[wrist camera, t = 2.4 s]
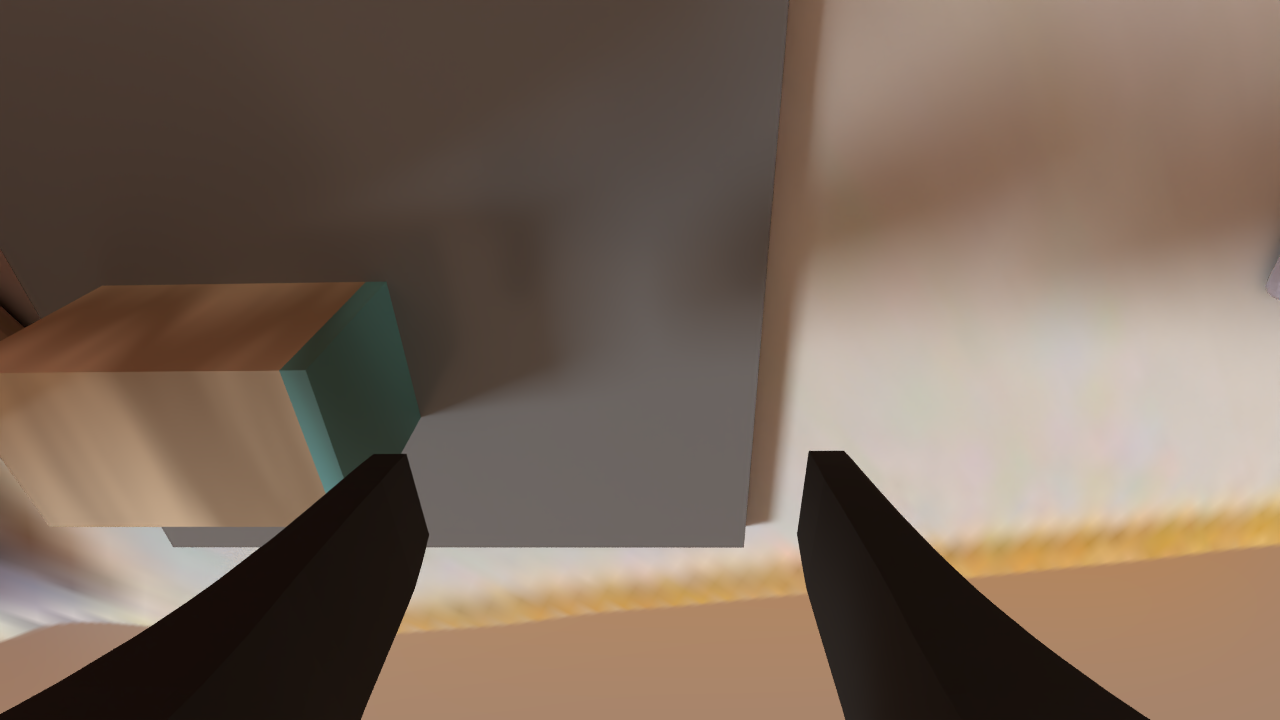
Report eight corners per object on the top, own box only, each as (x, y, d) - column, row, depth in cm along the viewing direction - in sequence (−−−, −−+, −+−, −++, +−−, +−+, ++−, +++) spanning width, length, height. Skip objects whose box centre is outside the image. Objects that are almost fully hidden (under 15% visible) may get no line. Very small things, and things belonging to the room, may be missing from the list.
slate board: (788, -88, 12) (796, -92, 11) (741, 528, 20) (743, 547, 19) (-131, -56, 12) (-178, -58, 12) (189, 528, 21) (173, 547, 20)
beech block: (306, 370, 12) (-60, 373, 12) (360, 527, 14) (49, 526, 14) (386, 281, 15) (102, 285, 15) (420, 417, 17) (169, 418, 17)
